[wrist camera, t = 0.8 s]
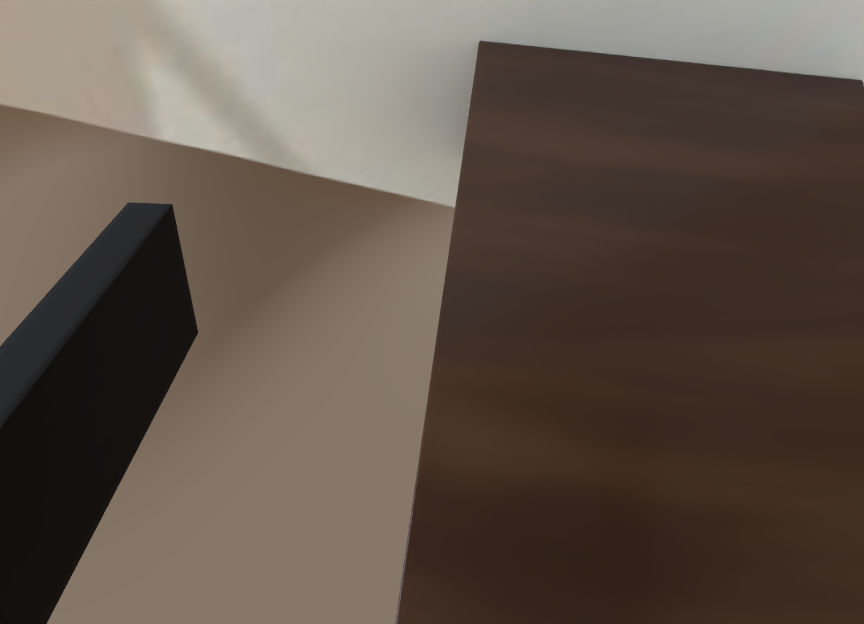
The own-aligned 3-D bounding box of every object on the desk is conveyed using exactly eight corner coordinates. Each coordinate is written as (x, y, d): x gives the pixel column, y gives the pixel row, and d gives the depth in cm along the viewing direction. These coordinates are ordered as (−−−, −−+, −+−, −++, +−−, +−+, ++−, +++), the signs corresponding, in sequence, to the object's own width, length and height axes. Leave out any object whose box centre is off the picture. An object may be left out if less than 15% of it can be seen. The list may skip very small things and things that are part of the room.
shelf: (457, 38, 32) (287, 1046, 15) (862, 80, 31) (1160, 1198, 14) (449, 160, 39) (327, 944, 22) (781, 198, 38) (916, 1043, 21)
